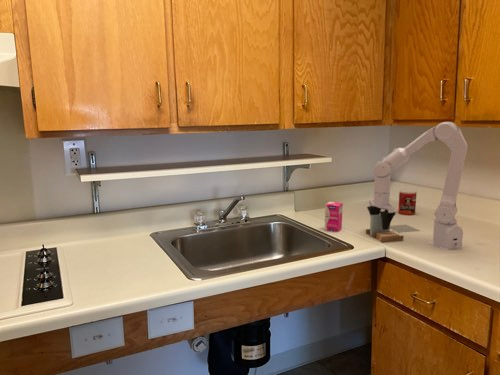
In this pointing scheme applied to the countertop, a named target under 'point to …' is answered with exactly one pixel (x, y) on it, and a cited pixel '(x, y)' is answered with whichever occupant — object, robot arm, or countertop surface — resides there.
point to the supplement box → (333, 216)
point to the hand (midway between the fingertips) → (380, 226)
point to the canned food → (407, 202)
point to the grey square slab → (376, 224)
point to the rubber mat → (403, 228)
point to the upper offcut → (387, 234)
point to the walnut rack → (385, 239)
